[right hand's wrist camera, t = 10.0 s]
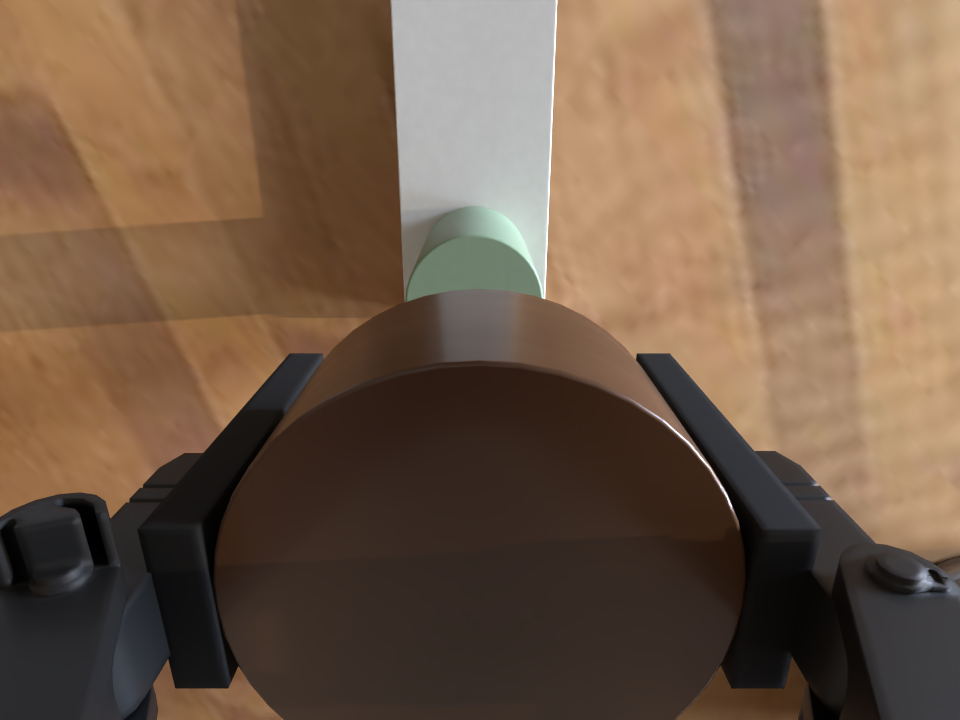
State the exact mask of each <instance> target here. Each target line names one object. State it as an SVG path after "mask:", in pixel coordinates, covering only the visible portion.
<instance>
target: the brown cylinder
mask: <svg viewBox="0 0 960 720" xmlns="http://www.w3.org/2000/svg"><path fill="white" fill-rule="evenodd" d="M213 583H214V592H215V601H216V609H217V613H218V616H219V620H220V623H221V627H222V631H223V634H224V637H225V639H226V641H227V643H228V646H229V648H230V650H231V652H232V654H233V657H234V659H235V661H236V662H237V664H238V666H239V667H240V669H241V670H242V672H243V673H244V675H245V676H246V678H247V680H248V681H249V683H250V684H251V685H252V687H253V688H254V689H255V690H256V691H257V692H258V694H259V695H260V696H261V697H262V698H263V700H264V701H265V702H266V703H267V704H268V705H269V706H270V707H271V708H272V709H273V710H274V711H275V712H276V713H277V714H278V715H280V716H281V717H282V718H283V719H284V720H675V719H676V718H677V717H678V716H679V715H681V714H682V713H683V712H684V711H685V710H686V709H687V708H688V707H689V706H690V705H691V704H692V703H693V702H694V701H695V700H696V698H697V697H698V696H699V695H700V694H701V692H702V691H703V690H704V689H705V688H706V687H707V685H708V684H709V683H710V681H711V680H712V678H713V677H714V675H715V674H716V672H717V670H718V669H719V667H720V666H721V664H722V663H723V661H724V659H725V657H726V655H727V653H728V650H729V648H730V646H731V644H732V642H733V639H734V637H735V635H736V631H737V628H738V624H739V621H740V617H741V614H742V609H743V604H744V595H745V587H746V565H745V549H744V544H743V540H742V535H741V531H740V526H739V522H738V519H737V517H736V514H735V512H734V509H733V507H732V504H731V502H730V499H729V497H728V494H727V492H726V491H725V489H724V487H723V486H722V484H721V482H720V481H719V479H718V478H717V476H716V474H715V473H714V471H713V469H712V468H711V466H710V465H709V463H708V462H707V460H706V459H705V457H704V456H703V455H702V453H701V452H700V450H699V449H698V447H697V446H696V445H695V443H694V442H693V440H692V439H691V437H690V436H689V434H688V433H687V432H686V430H685V429H684V427H683V426H682V424H681V423H680V422H679V420H678V419H677V417H676V416H675V414H674V413H673V411H672V410H671V409H670V407H669V406H668V404H667V403H666V401H665V400H664V399H663V397H662V396H661V394H660V393H659V391H658V390H657V388H656V387H655V386H654V384H653V383H652V381H651V380H650V378H649V377H648V376H647V374H646V373H645V371H644V370H643V368H642V367H641V366H640V365H639V363H638V362H637V361H636V360H635V359H634V357H633V356H632V355H631V354H630V353H629V351H628V350H627V349H626V348H625V347H624V346H623V345H622V344H621V343H620V342H618V341H617V340H616V339H615V338H614V337H613V336H612V335H611V334H609V333H608V332H607V331H606V330H604V329H603V328H601V327H600V326H598V325H597V324H595V323H594V322H593V321H591V320H590V319H588V318H587V317H585V316H583V315H581V314H579V313H577V312H575V311H573V310H571V309H569V308H567V307H565V306H563V305H560V304H557V303H554V302H551V301H549V300H546V299H543V298H540V297H537V296H533V295H527V294H522V293H517V292H512V291H506V290H490V289H469V290H454V291H447V292H442V293H437V294H432V295H427V296H423V297H420V298H417V299H414V300H411V301H408V302H405V303H402V304H399V305H397V306H395V307H393V308H391V309H389V310H386V311H384V312H382V313H380V314H378V315H376V316H374V317H373V318H371V319H370V320H368V321H367V322H365V323H364V324H362V325H361V326H359V327H358V328H356V329H355V330H353V331H352V332H351V333H350V334H349V335H348V336H346V337H345V338H344V339H343V340H342V341H341V342H340V343H339V344H338V345H336V346H335V347H334V348H333V349H332V350H331V352H330V353H329V354H328V355H327V356H326V358H325V359H324V360H323V361H322V362H321V364H320V365H319V366H318V367H317V369H316V370H315V372H314V373H313V374H312V376H311V377H310V379H309V380H308V382H307V383H306V385H305V386H304V388H303V389H302V390H301V392H300V393H299V395H298V396H297V398H296V399H295V401H294V402H293V403H292V405H291V406H290V408H289V409H288V411H287V412H286V414H285V415H284V416H283V418H282V419H281V421H280V422H279V424H278V425H277V427H276V428H275V430H274V431H273V432H272V434H271V435H270V437H269V438H268V440H267V441H266V443H265V444H264V445H263V447H262V448H261V450H260V451H259V453H258V454H257V456H256V457H255V459H254V460H253V461H252V463H251V464H250V466H249V467H248V469H247V471H246V472H245V474H244V475H243V477H242V479H241V480H240V482H239V484H238V485H237V487H236V489H235V490H234V492H233V494H232V496H231V498H230V501H229V503H228V506H227V508H226V511H225V513H224V516H223V518H222V521H221V524H220V529H219V533H218V538H217V542H216V547H215V554H214V573H213Z"/></svg>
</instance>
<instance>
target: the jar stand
mask: <svg viewBox="0 0 960 720" xmlns="http://www.w3.org/2000/svg"><path fill="white" fill-rule="evenodd" d="M390 5H391V26H392V47H393V68H394V90H395V111H396V132H397V153H398V175H399V196H400V217H401V238H402V260H403V281H404V302H408V301H411V300H414V299H417V298H420V297H423V296H427V295H432V294H437V293H442V292H447V291H454V290H469V289H490V290H506V291H512V292H517V293H522V294H527V295H533V296H537V297H540V298H543V299H545V284H546V259H547V235H548V210H549V186H550V161H551V137H552V113H553V88H554V64H555V39H556V15H557V0H390Z"/></svg>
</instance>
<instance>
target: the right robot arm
mask: <svg viewBox="0 0 960 720" xmlns="http://www.w3.org/2000/svg"><path fill="white" fill-rule="evenodd" d="M322 361H323V354H289V355H288V356H287V357H286V358H285V360H284V361H283V362H282V363H281V364H280V365H279V367H278V368H277V369H276V370H275V371H274V372H273V373H272V375H271V376H270V377H269V378H268V379H267V380H266V382H265V383H264V384H263V385H262V386H261V387H260V388H259V390H258V391H257V392H256V393H255V394H254V395H253V397H252V398H251V399H250V400H249V401H248V402H247V403H246V405H245V406H244V407H243V408H242V409H241V410H240V412H239V413H238V414H237V415H236V416H235V417H234V418H233V420H232V421H231V422H230V423H229V424H228V425H227V427H226V428H225V429H224V430H223V431H222V432H221V433H220V435H219V436H218V437H217V438H216V439H215V440H214V442H213V443H212V444H211V445H210V446H209V447H208V448H207V450H206V451H205V452H204V453H184V454H182V455H181V456H179V457H177V458H175V459H174V460H172V461H170V462H169V463H167V464H165V465H163V466H162V467H160V468H159V469H158V470H157V471H156V472H155V473H154V474H153V475H152V476H151V477H150V478H149V479H148V480H147V481H146V482H145V483H144V484H143V488H140V489H139V490H138V491H137V492H136V493H135V494H134V495H133V496H132V497H131V498H130V501H129V503H125V504H124V505H123V506H122V507H121V508H120V509H119V510H118V511H117V513H116V514H115V515H114V516H113V517H112V518H111V519H110V517H109V513H108V509H107V505H106V501H104V500H103V499H101V498H100V497H98V496H97V495H93V494H86V493H69V494H58V495H54V496H50V497H46V498H43V499H39V500H35V501H32V502H30V503H27V504H25V505H23V506H20V507H18V508H15V509H13V510H11V511H9V512H8V513H6V514H4V515H3V516H1V517H0V720H157V713H158V707H157V700H156V695H155V691H154V687H153V683H154V681H155V680H156V678H157V676H158V675H159V673H160V671H161V670H162V668H163V666H164V665H165V663H166V661H167V659H168V660H169V664H170V668H171V672H172V676H173V680H174V684H175V688H229V685H230V683H231V681H232V679H233V677H234V674H235V672H236V670H237V668H238V664H237V662H236V661H235V659H234V657H233V654H232V652H231V650H230V648H229V646H228V643H227V641H226V639H225V637H224V634H223V631H222V627H221V623H220V620H219V616H218V613H217V609H216V601H215V592H214V583H213V573H214V554H215V547H216V542H217V538H218V533H219V529H220V524H221V521H222V518H223V516H224V513H225V511H226V508H227V506H228V503H229V501H230V498H231V496H232V494H233V492H234V490H235V489H236V487H237V485H238V484H239V482H240V480H241V479H242V477H243V475H244V474H245V472H246V471H247V469H248V467H249V466H250V464H251V463H252V461H253V460H254V459H255V457H256V456H257V454H258V453H259V451H260V450H261V448H262V447H263V445H264V444H265V443H266V441H267V440H268V438H269V437H270V435H271V434H272V432H273V431H274V430H275V428H276V427H277V425H278V424H279V422H280V421H281V419H282V418H283V416H284V415H285V414H286V412H287V411H288V409H289V408H290V406H291V405H292V403H293V402H294V401H295V399H296V398H297V396H298V395H299V393H300V392H301V390H302V389H303V388H304V386H305V385H306V383H307V382H308V380H309V379H310V377H311V376H312V374H313V373H314V372H315V370H316V369H317V367H318V366H319V365H320V364H321V362H322ZM636 361H637V362H638V363H639V365H640V366H641V367H642V368H643V370H644V371H645V373H646V374H647V376H648V377H649V378H650V380H651V381H652V383H653V384H654V386H655V387H656V388H657V390H658V391H659V393H660V394H661V396H662V397H663V399H664V400H665V401H666V403H667V404H668V406H669V407H670V409H671V410H672V411H673V413H674V414H675V416H676V417H677V419H678V420H679V422H680V423H681V424H682V426H683V427H684V429H685V430H686V432H687V433H688V434H689V436H690V437H691V439H692V440H693V442H694V443H695V445H696V446H697V447H698V449H699V450H700V452H701V453H702V455H703V456H704V457H705V459H706V460H707V462H708V463H709V465H710V466H711V468H712V469H713V471H714V473H715V474H716V476H717V478H718V479H719V481H720V482H721V484H722V486H723V487H724V489H725V491H726V492H727V494H728V497H729V499H730V502H731V504H732V507H733V509H734V512H735V514H736V517H737V519H738V522H739V526H740V531H741V535H742V540H743V544H744V549H745V565H746V587H745V595H744V604H743V609H742V614H741V617H740V621H739V624H738V628H737V631H736V635H735V637H734V639H733V642H732V644H731V646H730V648H729V650H728V653H727V655H726V657H725V659H724V661H723V663H722V664H721V667H722V669H723V671H724V673H725V675H726V678H727V680H728V682H729V684H730V686H731V688H784V687H785V683H786V678H787V674H788V670H789V666H790V662H791V658H792V657H793V659H794V660H795V662H796V664H797V665H798V667H799V669H800V670H801V672H802V674H803V675H804V677H805V679H806V681H807V682H808V683H807V687H806V691H805V695H804V699H803V703H802V706H801V710H800V714H799V718H798V720H960V556H959V557H956V558H953V559H951V560H948V561H945V562H943V563H940V564H938V565H935V564H933V563H932V562H930V561H928V560H926V559H924V558H922V557H920V556H918V555H915V554H913V553H911V552H909V551H906V550H902V549H899V548H895V547H892V546H888V545H882V544H876V543H875V542H874V541H873V540H872V539H871V538H870V537H869V536H868V535H867V534H866V533H865V532H864V531H863V530H862V529H861V528H860V527H859V526H858V525H857V524H856V523H855V522H854V520H853V519H852V518H851V517H850V516H849V515H848V514H847V513H846V512H845V511H844V510H843V509H842V508H841V507H840V506H839V505H838V504H837V503H836V502H835V501H834V500H831V499H830V496H829V495H828V494H827V493H826V492H825V491H824V489H823V488H822V487H821V486H817V482H816V481H815V480H814V479H813V478H812V477H811V476H810V475H809V474H808V473H807V472H806V471H805V470H804V469H803V468H802V467H801V466H800V465H798V464H797V463H795V462H793V461H791V460H790V459H788V458H786V457H784V456H783V455H781V454H779V453H778V452H776V451H754V450H753V449H752V448H751V447H750V446H749V444H748V443H747V442H746V441H745V440H744V439H743V437H742V436H741V435H740V434H739V433H738V432H737V431H736V429H735V428H734V427H733V426H732V425H731V424H730V422H729V421H728V420H727V419H726V418H725V417H724V416H723V414H722V413H721V412H720V411H719V410H718V409H717V407H716V406H715V405H714V404H713V403H712V402H711V401H710V399H709V398H708V397H707V396H706V395H705V394H704V392H703V391H702V390H701V389H700V388H699V387H698V386H697V384H696V383H695V382H694V381H693V380H692V379H691V377H690V376H689V375H688V374H687V373H686V372H685V371H684V369H683V368H682V367H681V366H680V365H679V364H678V362H677V361H676V360H675V359H674V358H673V357H672V356H671V354H637V357H636Z"/></svg>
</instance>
